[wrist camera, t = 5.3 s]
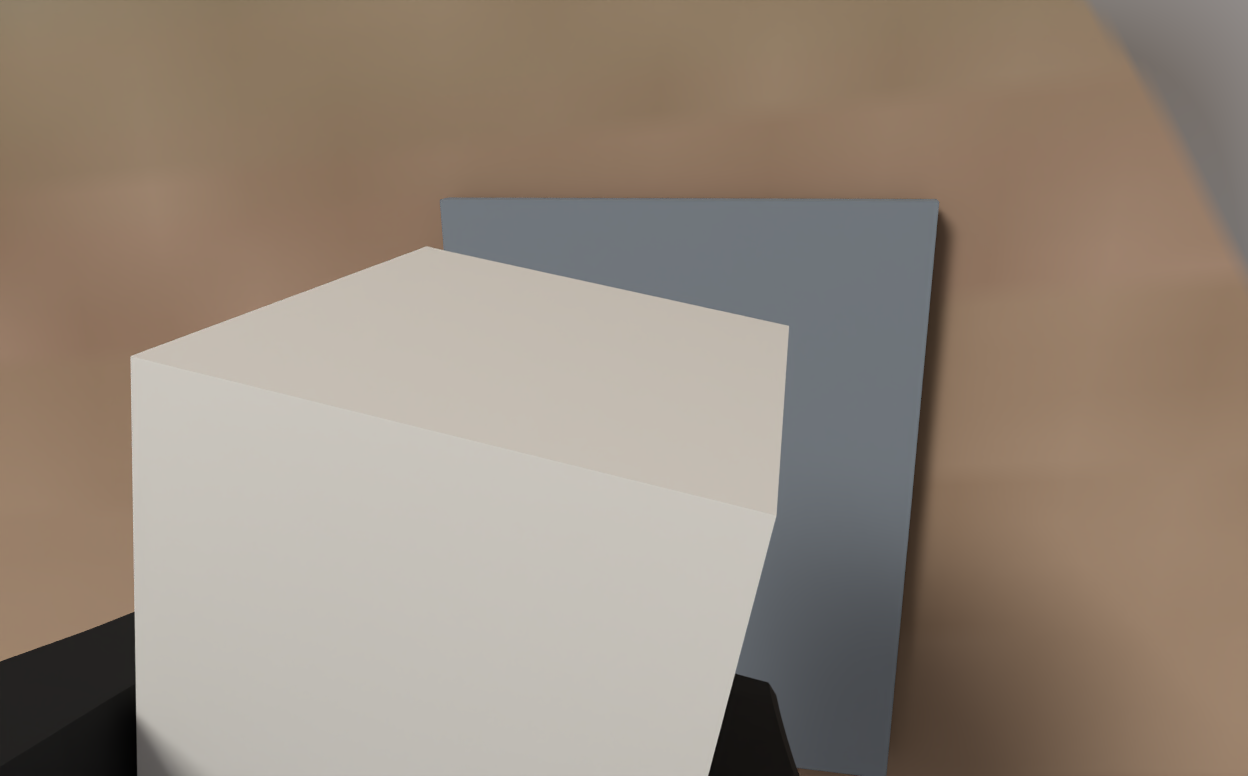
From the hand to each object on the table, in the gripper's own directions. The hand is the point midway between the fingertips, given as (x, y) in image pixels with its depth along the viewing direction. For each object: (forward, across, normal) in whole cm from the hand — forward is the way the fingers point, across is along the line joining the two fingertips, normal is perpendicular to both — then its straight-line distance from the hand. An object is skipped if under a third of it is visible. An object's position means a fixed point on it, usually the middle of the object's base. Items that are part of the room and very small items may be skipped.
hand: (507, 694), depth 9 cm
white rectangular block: (+2, 0, 0) cm, 2 cm away
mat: (+9, -1, +2) cm, 9 cm away
